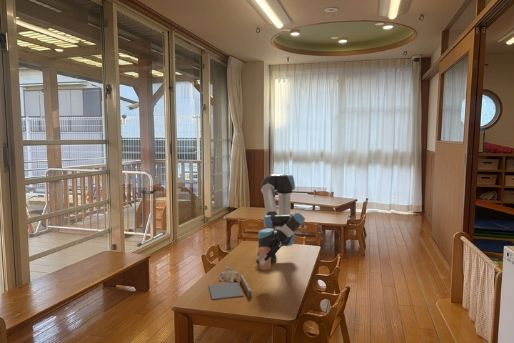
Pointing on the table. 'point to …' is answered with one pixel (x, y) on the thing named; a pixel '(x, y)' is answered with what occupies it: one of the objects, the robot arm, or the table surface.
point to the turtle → (229, 275)
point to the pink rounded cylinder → (262, 253)
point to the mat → (225, 291)
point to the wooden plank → (246, 286)
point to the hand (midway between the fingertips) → (259, 261)
